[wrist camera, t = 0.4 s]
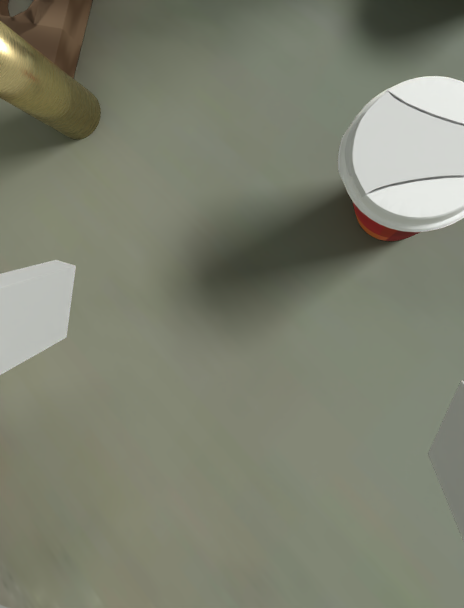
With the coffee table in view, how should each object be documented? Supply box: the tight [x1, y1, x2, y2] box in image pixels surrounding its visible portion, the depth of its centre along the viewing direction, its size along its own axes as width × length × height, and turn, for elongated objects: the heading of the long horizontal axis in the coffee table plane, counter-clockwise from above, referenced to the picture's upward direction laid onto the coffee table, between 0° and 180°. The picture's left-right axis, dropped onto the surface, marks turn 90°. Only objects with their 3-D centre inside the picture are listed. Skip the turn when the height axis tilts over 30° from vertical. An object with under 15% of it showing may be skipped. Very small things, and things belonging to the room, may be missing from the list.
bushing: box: [0, 21, 101, 139], centre depth 37 cm, size 5×5×14 cm
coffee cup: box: [338, 76, 464, 241], centre depth 29 cm, size 8×8×15 cm
